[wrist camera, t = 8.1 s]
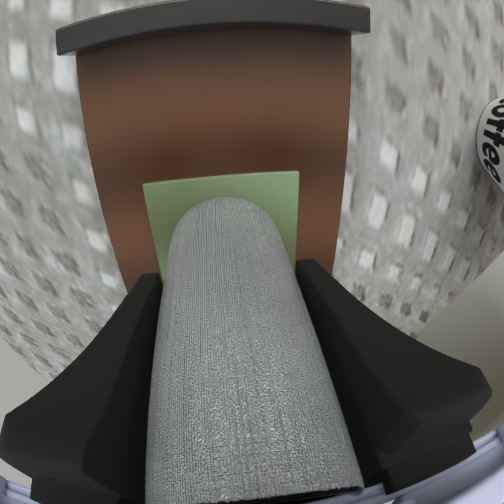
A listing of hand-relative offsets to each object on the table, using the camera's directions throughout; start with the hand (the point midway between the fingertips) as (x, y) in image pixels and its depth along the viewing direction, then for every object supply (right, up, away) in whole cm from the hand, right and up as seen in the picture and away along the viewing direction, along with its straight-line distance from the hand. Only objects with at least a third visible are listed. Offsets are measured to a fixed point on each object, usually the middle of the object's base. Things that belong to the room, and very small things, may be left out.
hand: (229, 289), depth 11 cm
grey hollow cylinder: (0, +2, +2) cm, 3 cm away
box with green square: (-1, +5, +2) cm, 6 cm away
